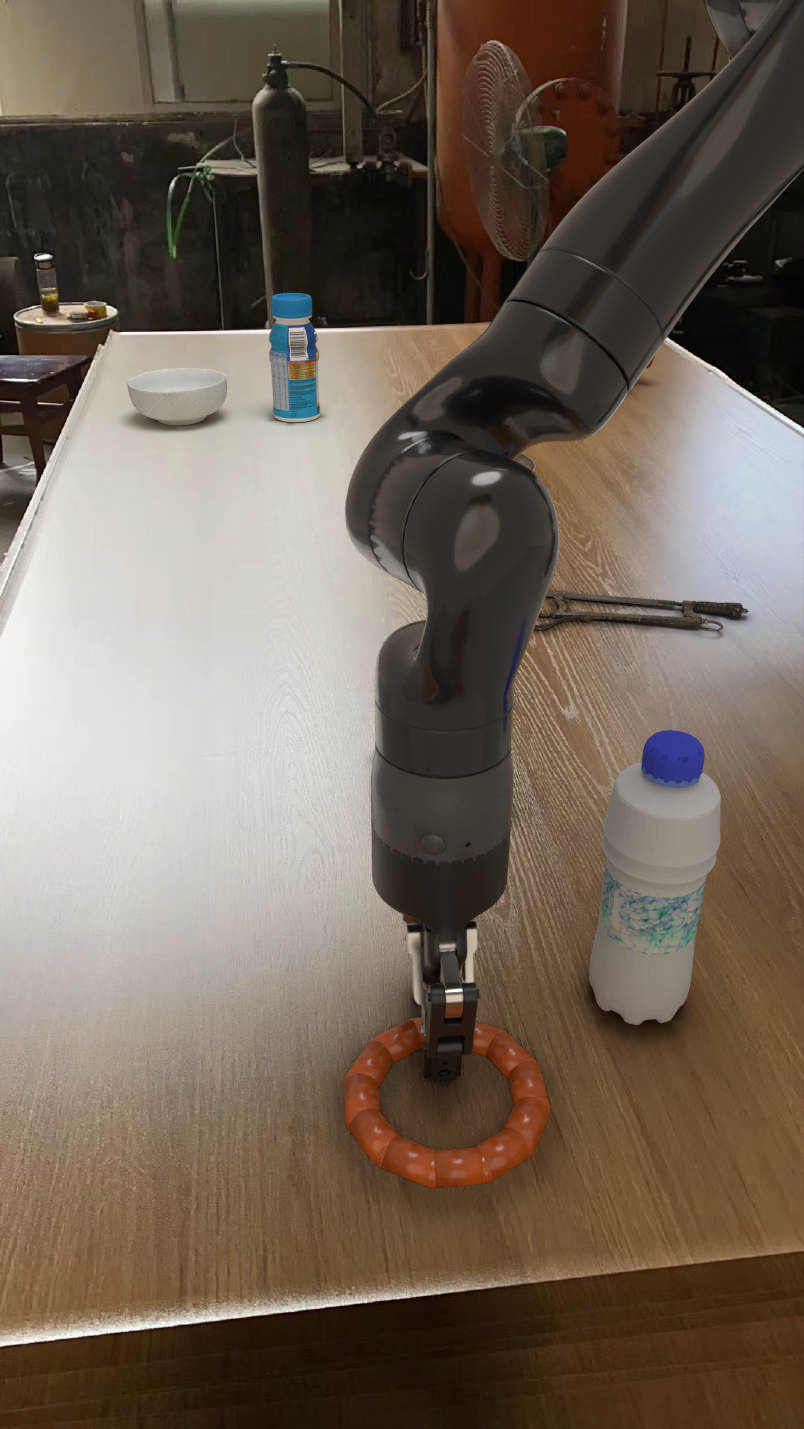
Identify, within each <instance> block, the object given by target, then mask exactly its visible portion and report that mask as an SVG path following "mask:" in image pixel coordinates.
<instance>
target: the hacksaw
mask: <svg viewBox="0 0 804 1429" xmlns="http://www.w3.org/2000/svg"><path fill="white" fill-rule="evenodd" d="M546 598H553V599H554V602H555V604H556V605H557V606H558V609H556V611H555V612H553V611H552V612H549V613H544V612H543V613H542V612H540V614H539V616H538V617H544V618H545V617H549V618H552V619H555V620H552V621H551V622H548V623H545V624H535V627H534V629H546V628H549V627H552V626H554V625H557V624H558V623H561V622H564V621H571V620H574V621H586V622H590V621H593V620H608V621H613V620H614V621H627V622H629V621H630V622H638V623H640V622H646V623H653V624H655V623H660V624H674V625H681V626H694V628H696V629H699V630H702V631H706V632H720V631H722V630H723V629H724V625H723V623H722V622H720V621H718V620H713V619H708V618H707V617H706V618H704V617H702V615H700V614H697V613H696V612H699V613H701V612H702V613H710V614H718V615H725V616H728V617H733V618H734V617H735V618H740V617H742V614H748V613H749V611H750V610H749V609H748V608H744V607H743V606H744V605H743V604H742V602H741V603H740V602H729V601H728V602H727V601H726V602H724V601H723V602H716V601H706V600H705V601H704V600H703V601H702V600H698V601H696V600H682V602H681V601H676V600H669V599H655V598H640V597H627V596H614V595H603V594H601V595H599V594H587V593H576V592H575V593H573V592H567V591H564V590H563V591H560V590H557V591H550V590H548V592H547V595H546ZM571 599H572V600H573V599H574V600H581V601H582V600H584V601H585V600H586V601H597V602H608V603H609V602H611V603H622V604H623V603H624V604H634V605H635V604H636V605H637V604H638V605H650V606H664V607H681V609H677V612H680V611H682V610H683V614H684V616H673V615H672V616H671V615H655V614H652V615H651V614H638V613H637V614H636V613H635V614H634V613H633V614H632V613H615V612H599V611H598V612H595V611H585V612H582V611H568V607H567V605H566V602H569V601H570V600H571ZM564 601H565V602H564ZM708 624H713V625H717V626H719V628H718V629H704V628H699V627H698V626H700V625H708Z"/></svg>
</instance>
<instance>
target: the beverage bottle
mask: <svg viewBox="0 0 804 1429" xmlns="http://www.w3.org/2000/svg"><path fill="white" fill-rule="evenodd" d="M270 302H271V316H272V318H274V319H275V321H274V323H273V324H272V327H271V329H270V332H269V336H268V342H269V343H270V349H269V352H268V359H269V362H270V371H271V389H272V414H273V417H274V418H275V419H276V420H278V421H281V422H287V423H305V422H311V421H314V420H317V418H319V417H320V416H321V407H320V394H319V393H320V391H319V390H320V389H319V360H320V351H319V349H318V348H317V343H318V340H319V339H318V338H319V337H318V334H317V330H316V329H315V327H314V325H313V324H312V322H311V321H310V319H311V318H312V317H313V299H312V296H311V295H310V294H307V293H302V292H301V293H300V292H286V293H285V292H284V293H277V294H274V295H272V296H271V301H270Z"/></svg>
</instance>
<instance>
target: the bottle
mask: <svg viewBox="0 0 804 1429" xmlns="http://www.w3.org/2000/svg"><path fill="white" fill-rule="evenodd" d="M705 757H706V756H705V749H704V746H703V744H702V743H701V741H700V740H699V739H698V738H697V737H695V736H694V735H692V734H690V733H688V732H685V731H680V730H676V729H675V730H674V729H665V730H660V731H657V732H654V733H653V734H652V735H650V736H649V738H647V740H646V741H645V743H644V746H643V748H642V756H641V761H640V762H636V763H634V764H631V765H628V766H627V767H625V768H624V769H622V771H620V773H619V774H617V777H616V779H615V781H614V784H613V788H612V792H611V795H610V798H609V802H608V806H607V810H606V812H605V815H604V818H603V821H602V831H603V835H602V837H601V846H602V847H601V848H602V851H603V854H604V855H605V862H604V871H603V880H602V888H601V895H600V902H599V913H598V920H597V927H596V930H595V936H594V940H593V943H592V950H591V953H590V960H589V966H588V967H589V968H588V978H589V979H588V981H589V985H590V986H591V988H592V991H593V994H594V997H595V1002H596V1004H597V1005H598V1007H599V1008H600V1009H601V1010H602V1011H604V1012H609V1011H613V1012H615V1013H617V1014H619V1015H620V1016H621V1018H622V1019H623V1021H624V1022H625V1023H627V1024H630V1025H634V1026H639V1025H641V1024H642V1023H643V1022H644V1021H648V1020H649V1021H651V1020H656V1021H657V1022H658V1023H660V1024H663V1023H667V1022H670V1021H671V1020H672V1019H673V1018H674V1017H675V1015H676V1013H677V1011H678V1010H679V1009H680V1008H681V1006H683V1005H684V1004H685V1002H686V1000H687V999H688V996H689V992H690V987H691V982H692V975H693V968H694V966H693V965H694V954H695V942H696V935H697V932H698V925H699V921H700V915H701V910H702V905H703V900H704V893H705V887H706V883H707V882H706V881H707V876H708V874H709V873H710V872H711V871H712V870H713V868H714V866H715V864H716V861H717V852H718V850H719V848H720V845H721V801H722V800H721V792H720V789H719V787H718V785H717V784H716V782H715V781H714V780H713V779H712V778H711V777H710V776H709V775H707V774H706V773H704V772H703V771H704V765H705Z"/></svg>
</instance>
